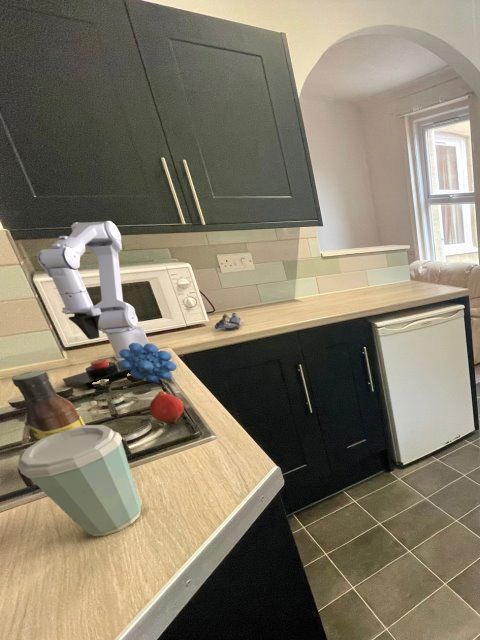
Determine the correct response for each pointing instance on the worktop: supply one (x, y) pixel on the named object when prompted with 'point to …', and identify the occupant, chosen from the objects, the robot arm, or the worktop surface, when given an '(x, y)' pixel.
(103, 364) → the button
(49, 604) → the worktop surface
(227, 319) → the blue grey figurine
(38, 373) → the sauce bottle
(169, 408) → the onion
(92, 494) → the disposable coffee cup
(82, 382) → the switch box
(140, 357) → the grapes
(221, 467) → the worktop surface
